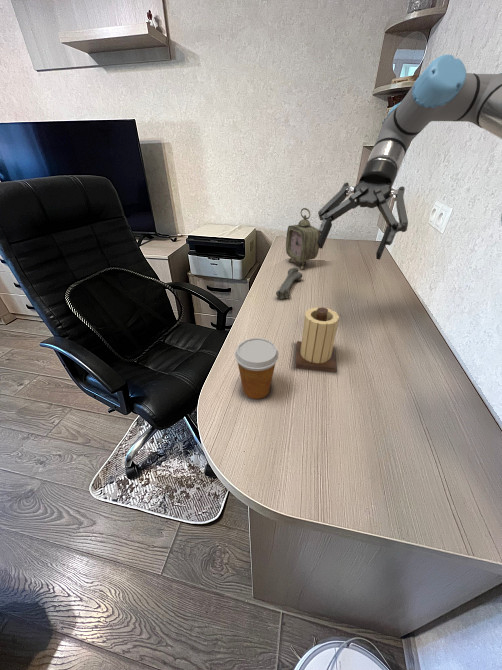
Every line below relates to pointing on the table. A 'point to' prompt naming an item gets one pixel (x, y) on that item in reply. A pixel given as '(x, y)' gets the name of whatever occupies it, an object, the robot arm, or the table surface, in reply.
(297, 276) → the bone
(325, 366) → the spindle stand
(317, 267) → the table surface
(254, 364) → the disposable coffee cup
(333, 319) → the wooden stave sleeve
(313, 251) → the tabletop clock
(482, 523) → the table surface
